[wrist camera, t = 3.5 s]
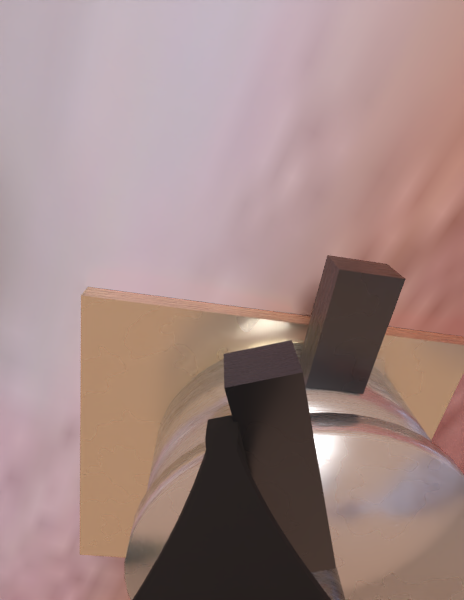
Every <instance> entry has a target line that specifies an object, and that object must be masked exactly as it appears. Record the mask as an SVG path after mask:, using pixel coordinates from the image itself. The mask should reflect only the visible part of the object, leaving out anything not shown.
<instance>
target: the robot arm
mask: <svg viewBox="0 0 464 600" xmlns="http://www.w3.org/2000/svg"><path fill="white" fill-rule="evenodd" d="M205 444H206V451H205V454H204V457H203V460H202V463H201V465H200V468H199V471H198V473H197V476H196V479H195V481H194V484H193V486H192V489H191V491H190V493H189V496H188V498H187V500H186V502H185V505H184V507H183V509H182V511H181V514H180V516H179V518H178V520H177V522H176V524H175V526H174V528H173V530H172V532H171V534H170V536H169V538H168V540H167V542H166V543H165V545H164V547H163V549H162V551H161V553H160V555H159V556H158V558H157V560H156V561H155V563H154V565H153V567H152V568H151V570H150V572H149V573H148V575H147V577H146V578H145V580H144V582H143V583H142V585H141V587H140V588H139V590H138V591H137V593H136V595H135V596H134V598H133V599H132V600H331V599H330V597H329V596H328V595H327V593H326V592H325V591H324V590H323V588H322V587H321V585H320V584H319V583H318V581H317V580H316V579H315V577H314V576H313V574H312V573H311V572H310V570H309V569H308V568H307V566H306V565H305V563H304V562H303V561H302V559H301V558H300V557H299V555H298V554H297V552H296V551H295V549H294V548H293V546H292V545H291V543H290V542H289V540H288V539H287V537H286V536H285V534H284V533H283V531H282V529H281V528H280V526H279V524H278V523H277V521H276V520H275V518H274V516H273V515H272V513H271V511H270V509H269V508H268V506H267V504H266V502H265V500H264V499H263V497H262V495H261V493H260V491H259V489H258V487H257V485H256V483H255V481H254V479H253V477H252V475H251V473H250V471H249V467H248V463H247V459H246V455H245V450H244V446H243V442H242V438H241V434H240V429H239V425H238V422H234V421H233V418H232V415H229V416H224V417H218V418H213V419H208V422H207V428H206V436H205Z"/></svg>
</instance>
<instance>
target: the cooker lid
mask: <svg viewBox="0 0 464 600" xmlns="http://www.w3.org/2000/svg"><path fill="white" fill-rule="evenodd" d="M223 356H224V389H225V392H226V396H227V400H228V403H229V407H230V410H231V414H232V418H233V421H234V422H238V425H239V429H240V434H241V438H242V442H243V446H244V450H245V455H246V459H247V463H248V467H249V471H250V473H251V475H252V477H253V479H254V481H255V483H256V485H257V487H258V489H259V491H260V493H261V495H262V497H263V499H264V500H265V502H266V504H267V506H268V508H269V509H270V511H271V513H272V515H273V516H274V518H275V520H276V521H277V523H278V524H279V526H280V528H281V529H282V531H283V533H284V534H285V536H286V537H287V539H288V540H289V542H290V543H291V545H292V546H293V548H294V549H295V551H296V552H297V554H298V555H299V557H300V558H301V559H302V561H303V562H304V563H305V565H306V566H307V568H308V569H309V570H310V572H311V573H312V574H313V576H314V577H315V579H316V580H317V581H318V583H319V584H320V585H321V587H322V588H323V590H324V591H325V592H326V593H327V595H328V596H329V597H330V599H331V600H464V474H463V473H462V471H461V470H460V469H459V467H458V466H457V465H456V463H455V462H454V461H453V459H452V458H451V457H450V456H448V455H447V454H446V453H445V452H444V451H443V450H442V449H441V448H440V447H439V446H437V445H436V444H434V443H433V442H431V441H430V440H428V439H427V438H425V437H423V436H422V435H420V434H418V433H416V432H414V431H411V430H409V429H407V428H405V427H403V426H400V425H397V424H394V423H391V422H388V421H384V420H381V419H378V418H372V417H367V416H361V415H356V414H345V413H330V412H322V413H310V411H309V406H308V400H307V394H306V388H305V382H304V376H303V371H302V368H301V366H300V363H299V360H298V357H297V354H296V351H295V348H294V345H293V342H292V340H289V341H284V342H279V343H274V344H269V345H264V346H260V347H255V348H250V349H245V350H240V351H235V352H230V353H225V354H223ZM205 451H206V444H205V442H203V443H201V444H199V445H198V446H196V447H195V448H193V449H191V450H190V451H188V452H187V453H185V454H184V455H182V456H181V457H180V458H178V459H177V460H176V461H175V462H174V463H172V464H171V465H170V466H169V467H168V468H167V469H165V470H164V471H163V472H162V474H161V475H160V476H159V477H158V478H157V479H156V480H155V481H154V483H153V484H152V485H151V486H150V488H149V489H148V491H147V492H146V494H145V496H144V497H143V499H142V500H141V502H140V505H139V507H138V509H137V512H136V514H135V516H134V521H133V526H132V530H131V535H130V540H129V544H128V549H127V554H126V558H125V582H126V586H127V591H128V594H129V596H130V599H131V600H132V599H133V598H134V596H135V595H136V593H137V591H138V590H139V588H140V587H141V585H142V583H143V582H144V580H145V578H146V577H147V575H148V573H149V572H150V570H151V568H152V567H153V565H154V563H155V561H156V560H157V558H158V556H159V555H160V553H161V551H162V549H163V547H164V545H165V543H166V542H167V540H168V538H169V536H170V534H171V532H172V530H173V528H174V526H175V524H176V522H177V520H178V518H179V516H180V514H181V511H182V509H183V507H184V505H185V502H186V500H187V498H188V496H189V493H190V491H191V489H192V486H193V484H194V481H195V479H196V476H197V473H198V471H199V468H200V465H201V463H202V460H203V457H204V454H205Z"/></svg>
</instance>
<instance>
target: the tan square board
mask: <svg viewBox="0 0 464 600" xmlns="http://www.w3.org/2000/svg"><path fill="white" fill-rule="evenodd" d="M404 281H405V278H403V277H402V276H401V275H400V274H399V273H397V272H396V271H395V270H394V269H392V268H391V267H390V266H389V265H388V264H383V263H376V262H369V261H362V260H356V259H349V258H342V257H336V256H329V255H327V259H326V263H325V266H324V270H323V274H322V278H321V281H320V285H319V289H318V292H317V296H316V300H315V303H314V307H313V311H312V314H311V316H304V315H296V314H289V313H281V312H274V311H266V310H259V309H251V308H244V307H236V306H228V305H221V304H213V303H206V302H198V301H191V300H183V299H176V298H168V297H161V296H153V295H145V294H138V293H130V292H123V291H115V290H108V289H100V288H93V287H88V288H87V289H86V290H85V291H84V292H83V294H82V295H81V425H80V555H95V556H110V557H124V558H126V554H127V549H128V544H129V540H130V535H131V530H132V526H133V521H134V516H135V514H136V512H137V509H138V507H139V505H140V502H141V500H142V499H143V497H144V496H145V494H146V492H147V491H148V489H149V488H150V486H151V485H152V484H153V483H154V481H155V480H156V479H157V478H158V477H159V476H160V475H161V474H162V472H163V471H164V470H165V469H167V468H168V467H169V466H170V465H171V464H172V463H174V462H175V461H176V460H177V459H178V458H180V457H181V456H182V455H184V454H185V453H187V452H188V451H190V450H191V449H193V448H195V447H196V446H198V445H199V444H201V443H203V442H205V436H206V428H207V422H208V419H213V418H218V417H224V416H229V415H232V414H231V410H230V407H229V403H228V400H227V396H226V392H225V389H224V356H223V354H225V353H230V352H235V351H240V350H245V349H250V348H255V347H260V346H264V345H269V344H274V343H279V342H284V341H289V340H292V342H293V345H294V348H295V351H296V354H297V357H298V360H299V363H300V366H301V368H302V371H303V376H304V382H305V388H306V394H307V400H308V406H309V411H310V413H322V412H330V413H345V414H356V415H361V416H367V417H372V418H378V419H381V420H384V421H388V422H391V423H394V424H397V425H400V426H403V427H405V428H407V429H409V430H411V431H414V432H416V433H418V434H420V435H422V436H423V437H425V438H427V439H428V440H430V441H431V440H432V437H433V435H434V433H435V431H436V429H437V427H438V425H439V423H440V421H441V419H442V417H443V414H444V412H445V410H446V408H447V406H448V404H449V402H450V400H451V398H452V396H453V394H454V392H455V389H456V387H457V385H458V383H459V381H460V379H461V377H462V375H463V373H464V337H462V336H455V335H447V334H440V333H432V332H425V331H417V330H410V329H402V328H395V327H388V325H389V322H390V319H391V317H392V314H393V311H394V309H395V306H396V303H397V300H398V298H399V295H400V292H401V289H402V287H403V284H404ZM431 442H432V441H431Z"/></svg>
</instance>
